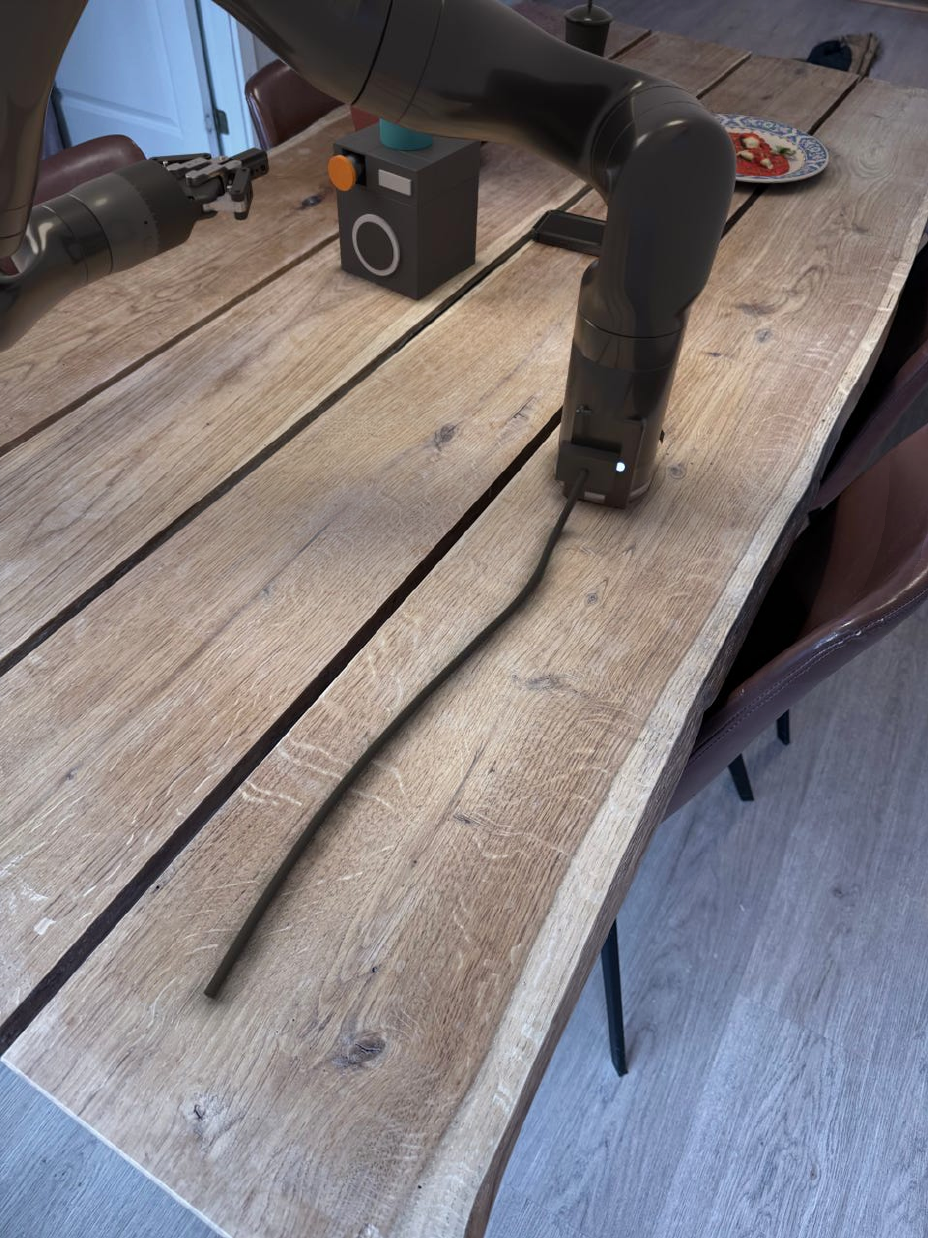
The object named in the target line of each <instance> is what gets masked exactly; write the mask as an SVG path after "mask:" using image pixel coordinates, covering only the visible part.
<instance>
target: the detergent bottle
mask: <svg viewBox="0 0 928 1238" xmlns="http://www.w3.org/2000/svg"><path fill="white" fill-rule="evenodd" d="M380 140H381V142H382V144H384V145H385V146H387V147H389V148H393V149H397V150H419V149H423V148H426V147H428V146H430V145H431V144H432V143H433V135H427V134H424V133H420V132H416V131H413V130H410V129H407V128H404V127H401V126H398V125H395V124H393V123H390V122H388V121H386V120H383V119H381V118H380Z"/></svg>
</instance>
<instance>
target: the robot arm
mask: <svg viewBox="0 0 928 1238" xmlns="http://www.w3.org/2000/svg"><path fill="white" fill-rule="evenodd" d="M210 1H211V2H212V3H214V4H215V5H217V6H218V7H219V8H220V9H221V10H223V11H225V13H226V14H228V15H229V16H230V17H232V18H233V19H234V20H235V21H236V22H238V23H239V25H241V26H243V28H245V29H246V30H247V31H248V32H249V33H250V34H251V35H252V36H253V37H255V38H256V39H257V40H258V41H259V43H261V44H262V45H263V46H264V47H265V48H266V49H267V50H268V51H269V52H270V53H271V54H273V55H274V56H275V57H276V58H277V59H279V60H280V61H281V62H282V63H283V64H285V65H286V67H288V68H289V69H290V70H292V71H293V72H294V73H295V74H296V75H298V76H299V77H300V78H302V79H303V80H304V81H306V82H307V83H308V84H310V85H311V86H313V87H314V88H316V89H318V90H319V91H320V92H322V93H324V94H326V95H327V96H329V97H331V98H333V99H334V100H336V101H338V102H340V103H343V104H345V105H350V106H352V107H355V108H357V109H359V110H362V111H364V112H366V113H369V114H371V115H374V116H376V117H378V118H381V119H383V120H386V121H388V122H390V123H393V124H395V125H398V126H401V127H404V128H407V129H410V130H413V131H416V132H420V133H424V134H427V135H433V136H438V137H445V138H454V139H464V140H478V141H482V142H489V143H490V142H492V143H498V144H499V143H500V144H504V145H509V146H512V147H516V148H519V149H522V150H524V151H527V152H529V153H531V154H533V155H536V156H538V157H540V158H542V159H544V160H546V161H548V162H551V163H552V164H554V165H556V166H558V167H559V168H561V169H563V170H565V171H566V172H568V173H569V174H571V175H574V176H575V177H576V178H578V179H580V180H581V181H583V182H585V183H586V184H587V185H589V186H590V187H591V188H593V190H594V191H595V192H597V194H599V196H600V197H601V199H602V200H603V202H604V203H605V205H606V207H607V209H606V210H607V211H606V217H605V221H606V223H605V229H604V235H603V240H602V246H601V251H600V256H598V258H596V259H595V260H594V261H592V262H591V263H589V265H587V267H586V268H585V269H584V271H583V272H582V276H581V280H580V284H579V290H578V298H577V299H578V300H577V307H576V315H575V321H574V329H573V335H572V340H571V347H570V354H569V362H568V369H567V374H566V375H567V376H566V383H565V390H564V398H563V405H562V411H561V418H560V424H559V425H560V426H559V431H558V432H559V433H558V440H557V441H558V442H557V447H556V453H555V455H554V463H553V473H554V481H557V482H558V483H559V485H560V486H561V487H562V489H561V495H562V496H563V497H568V498H567V500H566V502H565V504H564V506H563V509H562V511H561V512H560V515H559V517H558V519H557V520H556V523H555V525H554V527H553V529H552V531H551V534H550V535H549V538H548V539H547V542H546V545H545V547H544V550H543V552H542V553H541V554H542V555H541V557H540V559H539V561H538V564H537V566H536V567H535V570H534V572H533V573H532V575H531V577H530V578H529V580H528V581H527V583H526V584H525V586H524V587H523V588H522V589H521V591H520V592H519V593H518V595H517V596H516V597H514V599H513V600H512V601H511V603H509V604H508V606H507V607H505V608H504V609H503V611H502V612H500V614H498V615H497V617H495V618H494V619H493V620H492V621H491V622H490V623H489V624H488V625H487V626H486V627H485V628H484V629H483V630H481V632H480V633H478V634H477V635H476V636H475V637H474V639H473V640H471V641H470V642H469V644H467V645H466V647H464V649H462V650H461V651H460V652H459V653H458V654H457V655H456V656H455V657H454V658H453V659H452V660H451V661H450V662H449V663H448V664H447V665H446V666H445V667H444V668H443V669H442V670H441V671H440V672H439V673H438V674H436V675H435V677H434V678H433V679H431V681H430V682H429V683H427V685H426V686H425V687H424V688H423V689H422V690H421V691H420V692H419V693H418V694H417V695H416V696H415V697H413V699H412V700H411V701H410V702H409V703H408V704H407V705H406V706H405V708H404V709H403V710H402V711H401V712H400V713H399V714H398V715H397V716H396V717H395V718H394V719H393V720H392V721H391V722H390V723H389V725H387V727H385V729H384V730H383V731H382V732H381V733H380V734H379V735H378V737H377V738H376V739H375V740H374V741H373V742H372V743H371V744H370V746H369V747H368V748H367V749H366V750H365V751H364V752H363V753H362V755H361V756H360V758H358V760H357V761H356V762H355V763H354V765H353V766H352V767H351V768H350V769H349V770H348V771H347V773H346V774H345V775H344V777H343V778H342V779H341V780H340V781H339V783H338V784H337V786H335V788H334V789H333V791H332V792H331V793H330V794H329V796H328V797H327V799H325V801H324V802H323V804H322V805H321V807H320V808H319V809H318V810H317V812H316V813H315V815H314V816H313V817H312V819H311V820H310V822H309V823H308V824H307V825H306V827H305V829H304V830H303V831H302V833H301V835H300V836H299V837H298V838H297V840H296V842H295V843H294V845H293V846H292V848H291V849H290V851H289V852H288V854H287V855H286V857H285V858H284V860H282V862H281V864H280V866H279V867H278V869H277V870H276V871H275V873H274V875H273V876H272V878H271V879H270V881H269V882H268V884H267V886H266V887H265V889H264V890H263V892H262V893H261V895H260V897H259V898H258V900H257V901H256V903H255V905H254V906H253V908H252V910H251V911H250V913H249V914H248V916H247V918H246V919H245V921H244V923H243V925H242V926H241V928H240V930H239V931H238V933H237V935H236V937H235V938H234V940H233V941H232V943H231V945H230V947H229V949H228V950H227V952H226V954H225V955H224V957H223V959H222V960H221V962H220V964H219V966H218V967H217V969H216V970H215V972H214V974H213V975H212V977H211V979H210V980H209V982H208V984H207V985H206V987H205V989H204V991H203V995H204V996H206V997H207V998H209V999H211V1000H215V999H216V998H217V996H218V994H219V993H220V990H221V989H222V988H223V985H224V984H225V982H226V980H227V978H228V977H229V975H230V974H231V971H232V970H233V968H234V966H235V965H236V963H237V961H238V959H239V958H240V956H241V954H242V952H243V951H244V950H245V947H246V946H247V944H248V942H249V941H250V939H251V937H252V935H253V934H254V932H255V930H256V928H257V927H258V925H259V923H260V921H261V920H262V918H263V916H264V915H265V913H266V912H267V910H268V909H269V907H270V905H271V903H272V902H273V900H274V898H275V897H276V895H277V894H278V892H279V891H280V889H281V888H282V886H283V884H284V882H285V881H286V879H288V876H289V875H290V873H291V872H292V870H293V869H294V867H295V865H296V864H297V862H298V861H299V859H300V858H301V856H302V855H303V854H304V852H305V850H306V849H307V848H308V847H309V846H308V845H310V844H311V842H312V840H313V839H314V837H315V836H316V835H317V832H318V831H319V830H320V829H321V827H322V825H323V824H324V823H325V821H326V820H327V819H328V817H329V816H330V814H331V813H332V812H333V810H334V809H335V808H336V806H337V805H338V804H339V802H340V801H341V800H342V798H343V797H344V796H345V794H346V793H347V792H348V791H349V789H350V788H351V787H352V785H353V784H354V783H355V781H356V780H357V779H358V778H359V777H360V775H361V774H362V773H363V771H364V770H365V769H366V768H367V767H368V765H370V763H371V762H372V760H374V758H375V757H376V756H377V755H378V754H379V753H380V752H381V750H382V749H383V748H384V747H385V746H386V744H388V742H389V741H390V740H391V739H392V738H393V737H394V736H395V735H396V734H397V732H398V731H399V730H400V729H401V728H402V727H403V726H404V725H405V724H406V723H407V722H408V720H409V719H410V718H411V717H413V715H414V714H415V712H417V711H418V710H419V709H420V708H421V706H422V705H423V704H424V703H425V702H426V701H427V700H428V699H429V698H430V697H432V695H433V694H434V693H435V692H436V691H437V690H438V689H439V688H440V687H441V686H442V685H443V684H444V683H445V682H446V681H447V680H448V679H449V678H450V677H451V676H452V675H453V674H454V673H455V672H456V671H457V670H458V669H459V668H460V667H462V665H463V664H464V663H465V662H466V661H468V659H470V657H471V656H472V655H473V654H474V653H475V652H476V651H477V650H478V649H479V648H481V646H483V644H484V643H485V642H486V641H487V640H488V639H489V638H490V637H491V636H492V635H494V633H495V632H497V630H499V629H500V628H501V626H503V625H504V624H505V623H506V622H507V621H508V620H509V619H510V618H511V617H512V616H513V615H514V614H515V613H516V612H517V611H518V610H519V608H521V606H522V605H523V604H524V603H525V601H527V599H528V598H529V597H530V596H531V594H532V592H533V591H534V589H535V588H536V587H537V585H538V584H539V582H540V580H541V579H542V577H543V575H544V574H545V571H546V570H547V567H548V565H549V561H550V559H551V557H552V553H553V551H554V549H555V547H556V544H557V543H558V540H559V538H560V536H561V533H562V532H563V530H564V528H565V525H566V524H567V521H568V520H569V518H570V515H571V514H572V511H573V509H574V507H575V505H576V503H577V501H578V500H582V501H587V502H592V503H597V504H602V505H606V506H611V507H616V508H621V509H627V507H628V504H629V503H630V501H633V500H635V499H637V498H639V497H641V496H642V495H643V494H645V492H646V491H647V490H648V489H649V487H650V485H651V482H652V478H653V473H654V466H655V465H654V464H655V461H656V456H657V452H658V447H659V443H660V444H663V442H664V438H665V435H666V433H665V431H664V429H663V427H664V423H665V418H666V415H667V410H668V406H669V403H670V398H671V394H672V390H673V385H674V381H675V377H676V373H677V369H678V366H679V361H680V356H681V353H682V349H683V345H684V341H685V336H686V333H687V328H688V325H689V320H690V316H691V313H692V309H693V305H694V304H695V302H696V301H697V300H698V298H699V297H700V296H701V295H702V293H703V292H704V289H705V288H706V286H707V284H708V282H709V279H710V276H711V273H712V270H713V267H714V263H715V259H716V256H717V253H718V250H719V247H720V244H721V240H722V237H723V233H724V230H725V226H726V223H727V219H728V216H729V212H730V208H731V205H732V202H733V197H734V192H735V186H736V182H737V181H736V171H737V158H736V151H735V147H734V144H733V141H732V139H731V137H730V135H729V133H728V132H727V130H726V129H725V128H724V127H723V125H722V124H721V123H720V122H719V121H718V120H717V119H716V118H715V117H714V116H713V114H714V113H712V112H711V111H710V110H709V109H708V108H707V107H706V106H705V104H704V103H703V102H701V100H699V99H698V98H697V96H696V95H695V94H694V93H693V92H691V91H690V90H688V89H687V88H685V87H684V86H682V85H681V84H679V83H677V82H674V81H672V80H670V79H668V78H667V79H666V78H664V77H661V76H658V75H656V74H653V73H649V72H646V71H643V70H639V69H637V68H634V67H630V66H628V65H625V64H622V63H619V62H616V61H614V60H611V59H608V58H606V57H604V56H603V57H600V56H597V55H594V54H592V53H589V52H586V51H583V50H581V49H579V48H576V47H574V46H571V45H569V44H567V43H565V41H563V40H561V39H559V38H557V37H555V36H554V35H552V34H551V33H549V32H547V31H545V30H544V29H542V28H541V27H539V26H538V25H536V24H535V23H534V22H532V21H531V20H529V19H528V18H526V17H524V16H523V15H522V14H520V13H518V11H516V10H514V9H513V8H511V7H510V6H508V5H506V4H505V3H503V2H501V1H499V0H210ZM89 2H90V0H0V261H4V260H6V259H8V258H11V260H12V261H13V263H14V265H15V267H16V269H17V271H18V272H19V273H17V274H13V275H8V274H7V273H6V271H5V270H4V269H2V267H1V266H0V354H2V353H4V352H6V351H8V350H9V349H11V348H12V347H14V346H15V345H16V344H17V343H18V342H20V341H21V340H22V339H23V337H24V336H26V335H27V333H28V332H29V331H30V330H31V329H32V328H33V327H35V325H36V324H37V323H38V322H40V320H42V318H43V317H44V316H46V315H47V314H48V313H49V312H50V311H51V310H52V309H54V308H55V307H56V306H57V305H58V304H60V303H61V302H62V301H63V300H64V299H66V298H67V297H68V296H70V295H71V294H72V293H75V292H76V291H79V290H80V289H83V288H85V287H88V286H89V285H91V284H93V283H96V282H98V281H100V280H103V279H104V278H106V277H109V276H112V275H114V274H117V273H121V272H124V271H128V270H130V269H132V268H135V267H137V266H139V265H141V264H143V263H146V262H148V261H150V260H151V259H154V258H155V257H158V256H161V255H162V254H164V253H167V252H168V251H171V250H172V249H174V248H177V247H179V246H181V245H183V244H185V243H186V242H187V241H188V240H189V238H190V236H191V234H192V232H193V229H194V227H195V225H196V223H197V222H200V221H205V220H210V219H213V218H215V217H216V216H217V215H218V214H219V212H230V214H233V218H234V220H236V221H245V220H247V219H248V216H249V214H250V210H251V206H252V203H253V199H254V196H255V195H254V189H253V181H254V180H256V179H259V178H261V177H264V176H265V175H267V174H269V172H270V164H269V163H270V162H269V155H268V152H267V151H266V150H263V149H260V148H258V147H251V148H249V149H245V150H243V151H241V152H238V153H237V154H234V155H232V156H228V155H218V156H215V157H213V156H212V154H211V153H210V152H198V153H184V154H171V155H158V156H150V157H149V158H148V159H147V158H146V159H141V160H139V161H136V162H133V163H131V164H128V165H126V166H123V167H121V168H118V169H115V170H113V171H110V172H108V173H106V174H103V175H101V176H98V177H95V178H93V179H90V180H88V181H85V182H83V183H81V184H79V185H77V186H75V187H74V188H72V189H71V190H69V191H67V192H66V193H63V194H61V195H60V196H56V197H54V198H51V199H49V200H47V201H44V202H41V203H39V204H37V205H34V202H35V198H36V193H37V189H38V185H39V180H40V174H41V169H42V163H43V158H44V157H43V156H44V150H45V149H44V148H45V136H46V126H47V125H46V124H47V116H48V115H47V114H48V109H49V108H48V107H49V103H50V99H51V94H52V90H53V86H54V85H55V81H56V77H57V73H58V70H59V68H60V66H61V63H62V60H63V57H64V54H65V52H66V51H67V50H66V49H67V47H68V46H69V43H70V41H71V39H72V37H73V34H74V32H75V31H76V29H77V26H78V24H79V22H80V20H81V18H82V16H83V14H84V12H85V10H86V8H87V6H88V4H89ZM350 106H349V107H350Z"/></svg>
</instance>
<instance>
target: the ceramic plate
mask: <svg viewBox="0 0 928 1238" xmlns="http://www.w3.org/2000/svg"><path fill="white" fill-rule="evenodd" d="M712 114H713V116H714V117H715V118H716V119H717V120H718V121H719V122H720V123H721V124H722V125H723V127H724V128H725V129H726V130H727V132H728V133H729V135H730V137H731V139H732V141H733V144H734V147H735V151H736V158H737V171H736V181H735V182H746V183H757V184H758V183H759V184H760V183H761V184H777V183H780V184H781V183H788V182H797V181H801V180H804V179H808V178H811V177H814V176H815V175H817V174H819V173H821V172H822V171H824V169H825V168H826V167H828V163H829V160H830V154H829V151H828V150H827V148H826V147H825V146H824V144H822V143H821V142H820V140H818V139H817V138H815V137H814V136H812V135H810V134H808V133H807V132H804V131H803V130H801V129H798V128H796V127H793V126H790V125H787V124H785V123H782V122H778V121H775V120H770V119H765V118H761V117H756V116H755V117H754V116H749V115H739V114H723V113H722V114H721V113H720V114H719V113H717V114H716V113H715V114H714V113H712Z"/></svg>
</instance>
